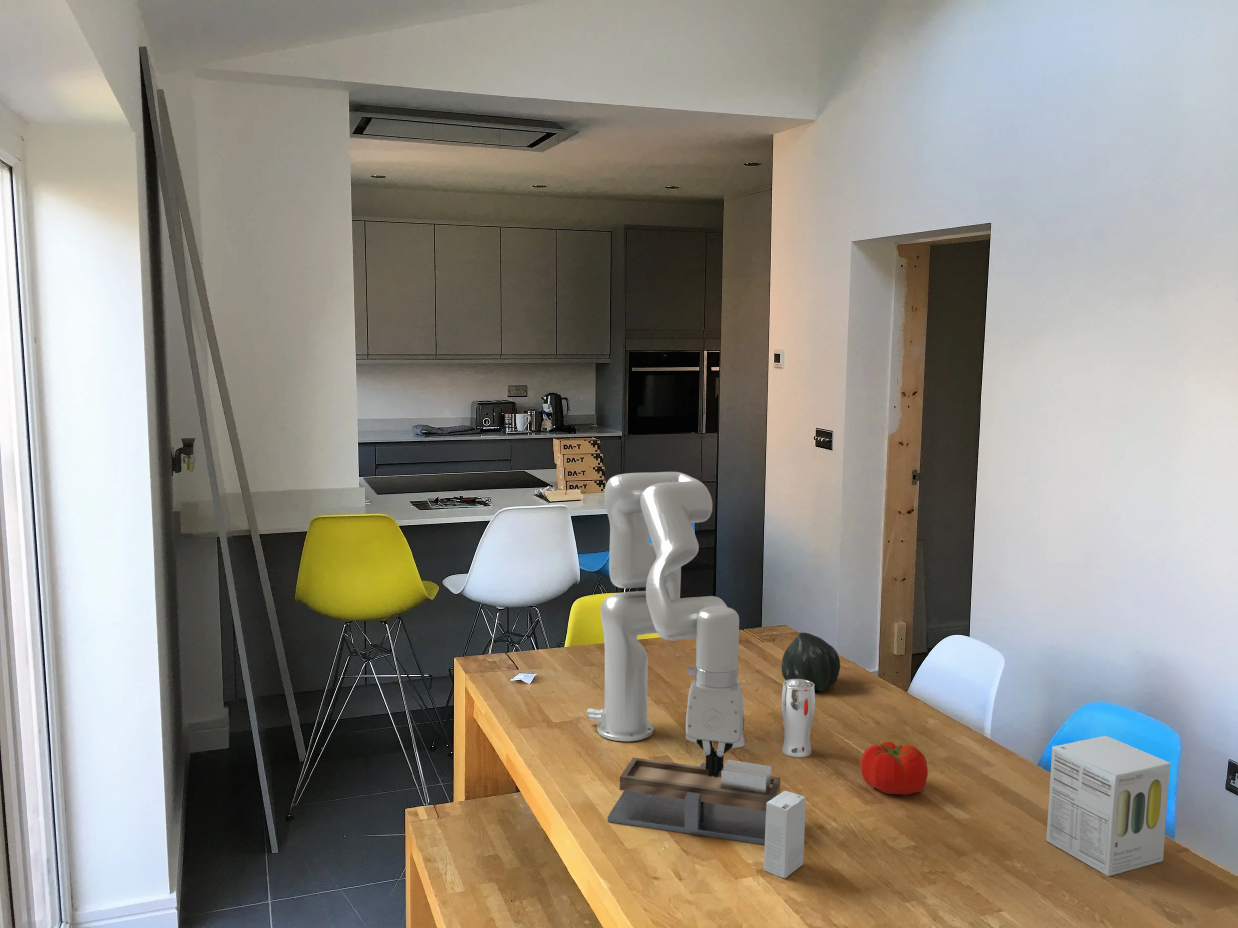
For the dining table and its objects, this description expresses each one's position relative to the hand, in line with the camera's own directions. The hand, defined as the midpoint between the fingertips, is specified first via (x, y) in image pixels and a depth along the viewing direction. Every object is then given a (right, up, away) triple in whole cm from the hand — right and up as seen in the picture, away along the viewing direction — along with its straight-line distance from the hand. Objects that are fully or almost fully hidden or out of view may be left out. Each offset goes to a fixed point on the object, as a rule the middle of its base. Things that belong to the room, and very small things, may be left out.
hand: (714, 773), depth 178 cm
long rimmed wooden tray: (-2, -3, +1) cm, 4 cm away
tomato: (+37, -8, +14) cm, 40 cm away
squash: (+32, -1, +73) cm, 79 cm away
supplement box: (+66, -11, -10) cm, 67 cm away
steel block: (+6, -2, -2) cm, 6 cm away
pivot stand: (-3, -8, +2) cm, 9 cm away
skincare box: (+10, -11, -16) cm, 22 cm away
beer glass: (+21, -5, +31) cm, 38 cm away
